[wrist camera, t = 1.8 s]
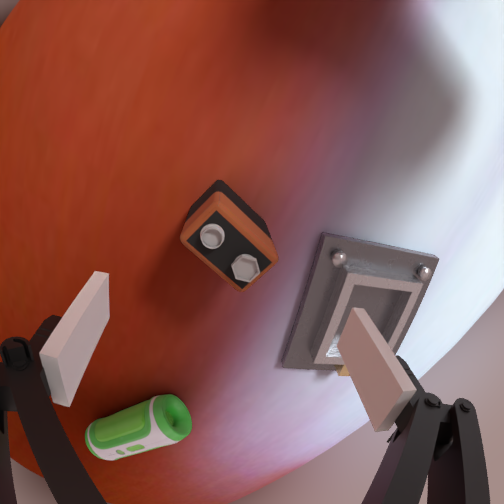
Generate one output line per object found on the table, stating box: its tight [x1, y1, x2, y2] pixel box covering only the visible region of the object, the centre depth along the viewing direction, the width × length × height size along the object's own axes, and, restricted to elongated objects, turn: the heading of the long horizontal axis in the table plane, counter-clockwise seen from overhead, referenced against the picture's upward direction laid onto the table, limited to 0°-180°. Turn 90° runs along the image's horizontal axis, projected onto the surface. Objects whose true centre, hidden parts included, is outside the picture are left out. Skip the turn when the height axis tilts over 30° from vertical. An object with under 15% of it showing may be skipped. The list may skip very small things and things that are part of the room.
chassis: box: [281, 232, 439, 376], centre depth 37 cm, size 18×16×3 cm
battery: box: [180, 180, 278, 292], centre depth 28 cm, size 4×7×10 cm, turn 44°
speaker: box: [85, 394, 192, 460], centre depth 40 cm, size 18×7×8 cm, turn 122°
